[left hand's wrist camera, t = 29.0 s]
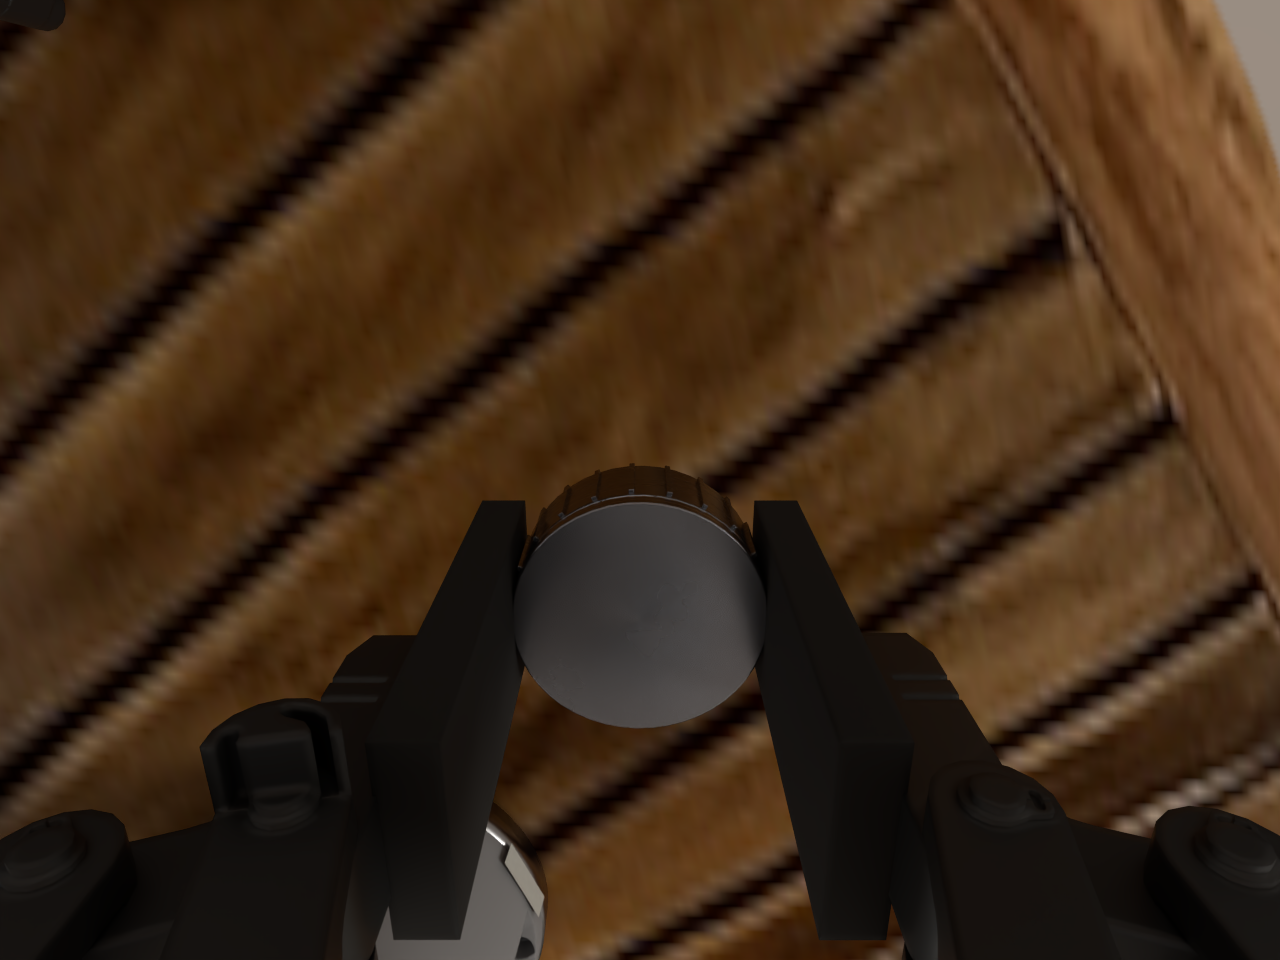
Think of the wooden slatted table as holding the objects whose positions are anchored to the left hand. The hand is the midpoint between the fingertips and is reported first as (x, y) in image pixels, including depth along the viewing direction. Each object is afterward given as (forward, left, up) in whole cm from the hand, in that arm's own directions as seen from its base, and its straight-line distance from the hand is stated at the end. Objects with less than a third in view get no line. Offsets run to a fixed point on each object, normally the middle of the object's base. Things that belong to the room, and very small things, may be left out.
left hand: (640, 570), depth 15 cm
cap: (0, 0, +2) cm, 2 cm away
